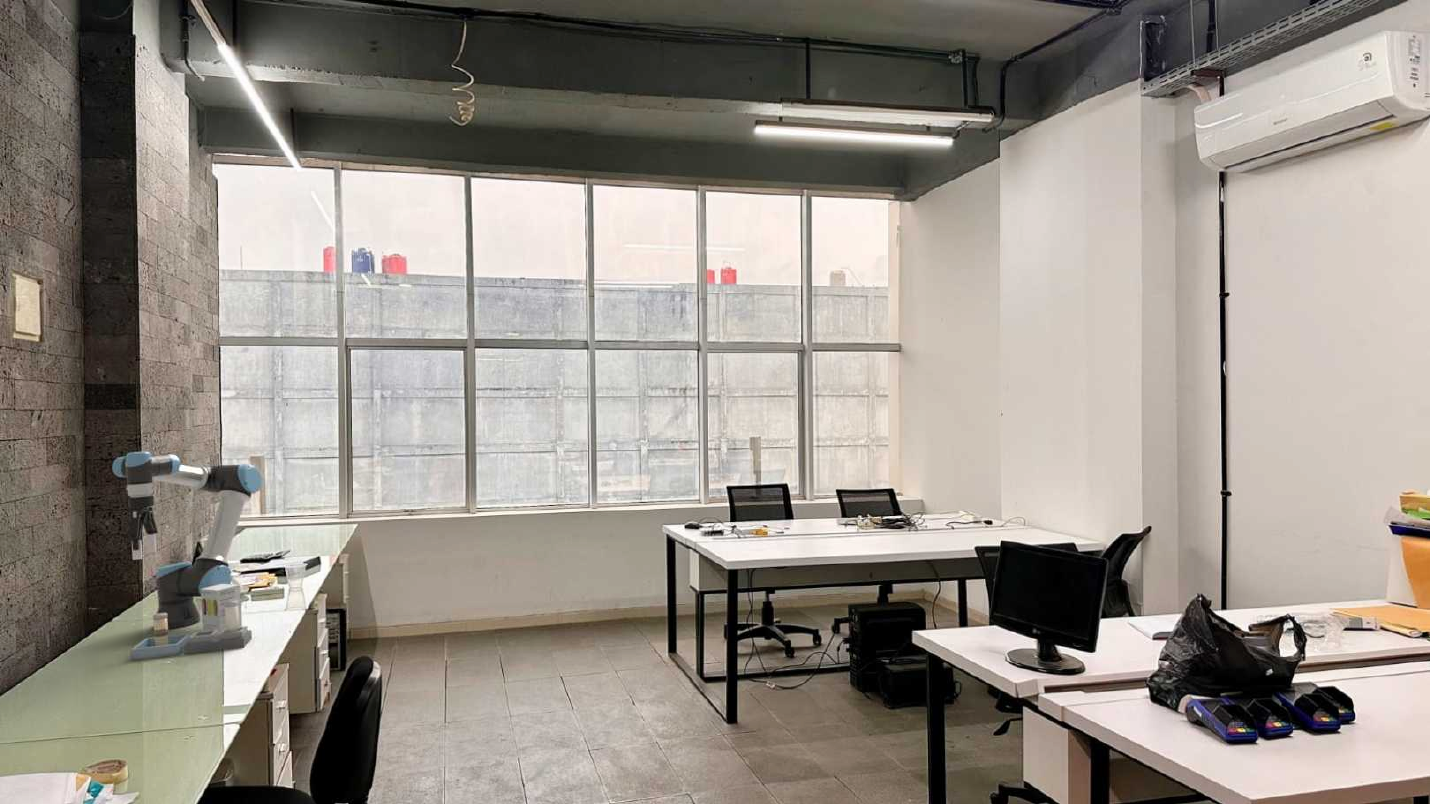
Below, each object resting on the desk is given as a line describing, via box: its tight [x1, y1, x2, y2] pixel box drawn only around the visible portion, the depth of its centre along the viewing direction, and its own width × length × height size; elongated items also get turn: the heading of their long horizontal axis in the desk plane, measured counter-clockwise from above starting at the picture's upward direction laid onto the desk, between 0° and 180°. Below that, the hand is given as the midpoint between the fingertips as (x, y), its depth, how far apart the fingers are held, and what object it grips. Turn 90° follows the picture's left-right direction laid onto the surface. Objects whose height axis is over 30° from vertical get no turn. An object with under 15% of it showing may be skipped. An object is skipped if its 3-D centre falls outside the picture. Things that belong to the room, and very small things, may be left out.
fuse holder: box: [184, 600, 253, 655], centre depth 302 cm, size 11×18×15 cm, turn 106°
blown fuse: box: [152, 613, 169, 646], centre depth 299 cm, size 4×4×12 cm
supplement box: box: [200, 583, 243, 633], centre depth 321 cm, size 10×9×17 cm
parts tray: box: [130, 633, 192, 661], centre depth 299 cm, size 14×14×4 cm
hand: (144, 555), depth 307 cm, fingers open, 13 cm apart
